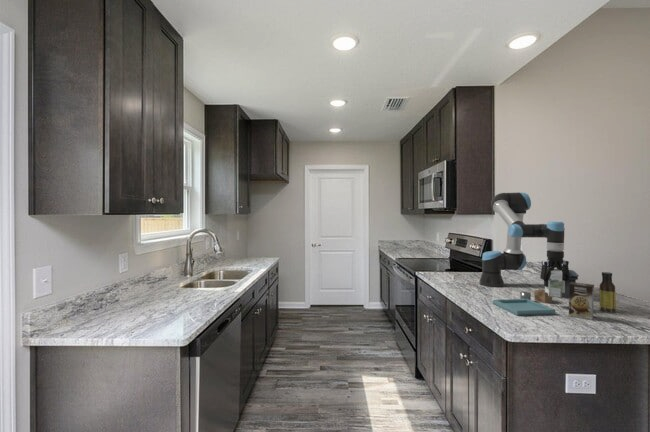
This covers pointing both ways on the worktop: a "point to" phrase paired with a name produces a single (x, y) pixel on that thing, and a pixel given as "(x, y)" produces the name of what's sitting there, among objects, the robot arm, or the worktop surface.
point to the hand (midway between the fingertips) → (554, 292)
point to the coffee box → (581, 300)
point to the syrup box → (555, 284)
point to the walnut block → (542, 296)
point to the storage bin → (573, 278)
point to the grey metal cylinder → (525, 295)
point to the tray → (523, 307)
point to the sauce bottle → (607, 293)
